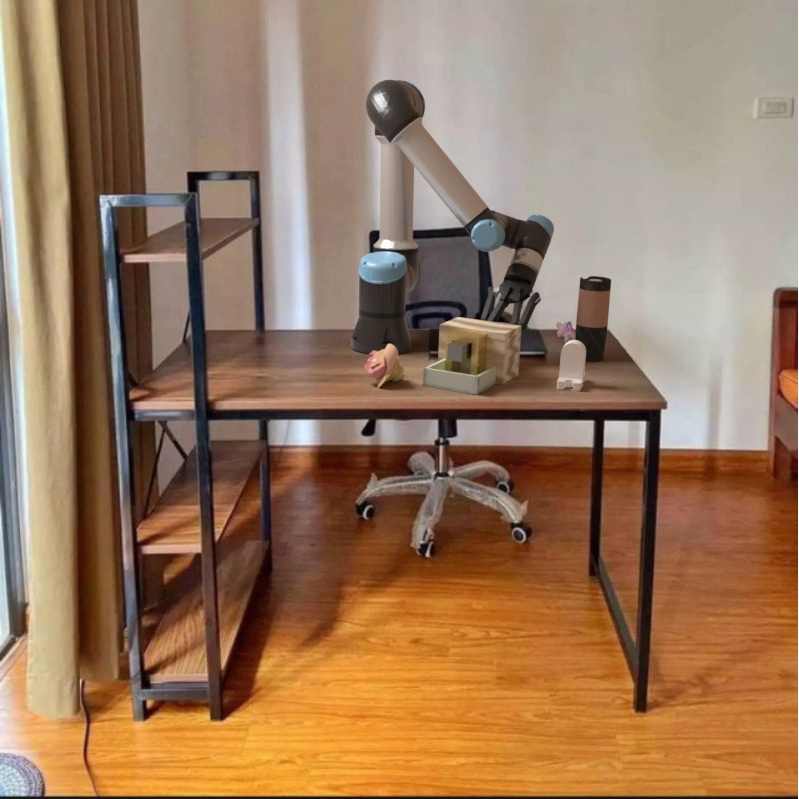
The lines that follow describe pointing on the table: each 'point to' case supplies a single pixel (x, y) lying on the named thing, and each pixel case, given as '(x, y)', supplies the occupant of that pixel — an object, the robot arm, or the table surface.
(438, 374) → the tray
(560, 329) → the rabbit figure
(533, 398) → the table surface
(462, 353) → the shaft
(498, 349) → the light wood block
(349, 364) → the table surface
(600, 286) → the travel mug
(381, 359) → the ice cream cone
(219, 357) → the table surface
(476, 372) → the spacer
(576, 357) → the white phone stand
